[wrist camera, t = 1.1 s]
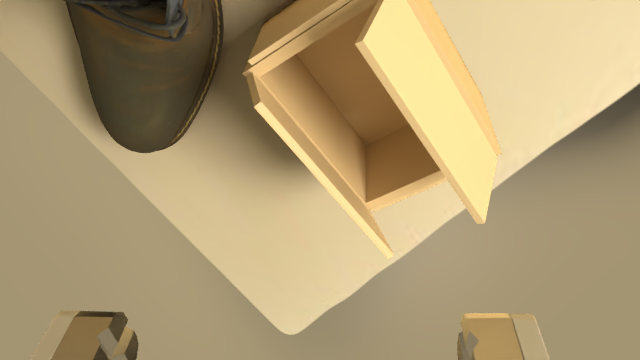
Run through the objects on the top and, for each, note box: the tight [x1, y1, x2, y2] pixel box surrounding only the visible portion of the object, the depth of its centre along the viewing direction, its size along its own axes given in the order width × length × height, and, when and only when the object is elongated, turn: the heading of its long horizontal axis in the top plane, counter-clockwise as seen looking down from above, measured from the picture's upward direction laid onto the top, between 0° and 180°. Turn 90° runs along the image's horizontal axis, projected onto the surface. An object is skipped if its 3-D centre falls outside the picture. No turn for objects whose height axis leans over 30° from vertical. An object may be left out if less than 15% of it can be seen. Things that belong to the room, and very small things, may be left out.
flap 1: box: [246, 72, 394, 259], centre depth 39 cm, size 1×18×7 cm, turn 36°
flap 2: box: [355, 0, 498, 224], centre depth 35 cm, size 1×18×7 cm, turn 35°
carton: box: [242, 0, 501, 212], centre depth 43 cm, size 14×19×10 cm
